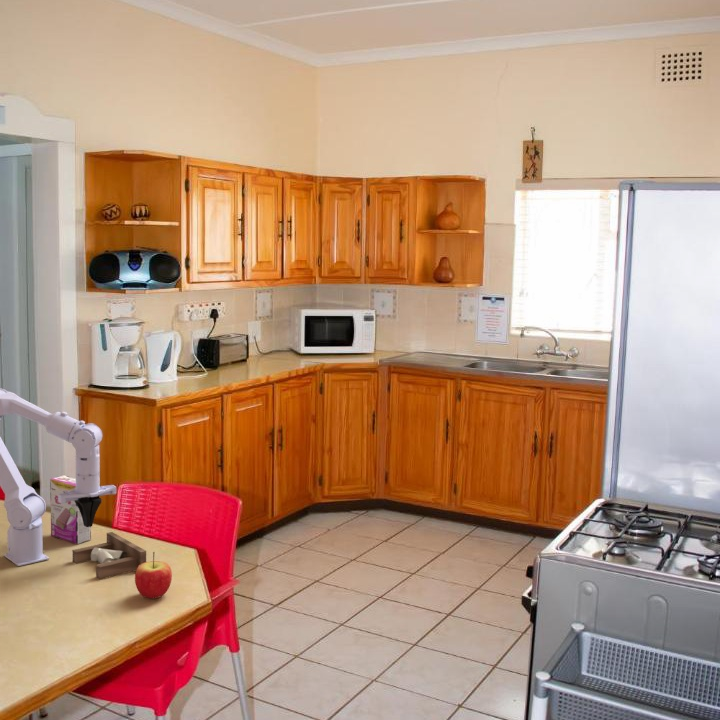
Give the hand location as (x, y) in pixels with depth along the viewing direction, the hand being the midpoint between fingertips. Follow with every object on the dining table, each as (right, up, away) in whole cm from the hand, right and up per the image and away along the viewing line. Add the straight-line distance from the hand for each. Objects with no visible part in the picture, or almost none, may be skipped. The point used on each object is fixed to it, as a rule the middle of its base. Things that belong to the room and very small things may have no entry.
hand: (88, 525), depth 214 cm
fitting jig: (+5, -10, 0) cm, 11 cm away
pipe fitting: (+4, -10, -1) cm, 11 cm away
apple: (+21, -13, -18) cm, 31 cm away
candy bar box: (-10, -7, +18) cm, 22 cm away
